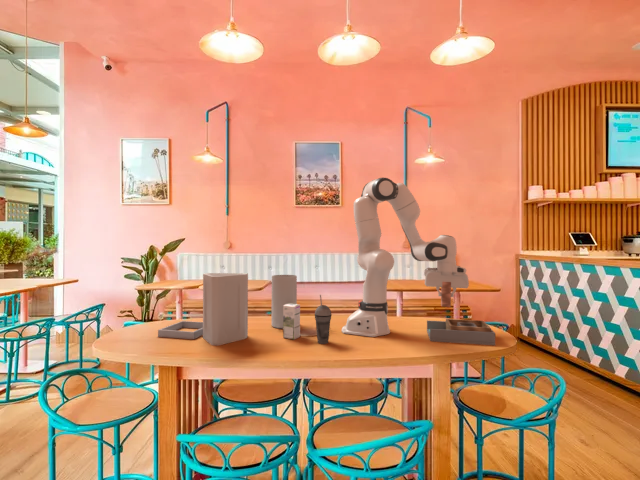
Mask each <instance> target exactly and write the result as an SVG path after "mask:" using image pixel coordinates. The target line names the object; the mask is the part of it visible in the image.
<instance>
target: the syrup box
mask: <svg viewBox="0 0 640 480" xmlns="http://www.w3.org/2000/svg"><path fill="white" fill-rule="evenodd" d="M282 331H283V333H282V334H283V335H282V337H283V339H287V340H288V339H290V340H297V339H298V338H300V337H301V304H300V303H299V304H298V303H297V304H286V305H284V306H283V328H282Z"/></svg>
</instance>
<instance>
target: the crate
mask: <svg viewBox="0 0 640 480" xmlns="http://www.w3.org/2000/svg"><path fill="white" fill-rule="evenodd" d="M445 321H446V330H461V331H479V332H491V329H492V328H491V327H490V326H489V325H488V324H487V323H486V322H485V321H484V320H475V319H457V318H446V319H445Z"/></svg>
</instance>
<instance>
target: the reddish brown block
mask: <svg viewBox="0 0 640 480" xmlns="http://www.w3.org/2000/svg"><path fill="white" fill-rule="evenodd" d="M440 292H442V296H440V306H441V307H444V308H445V307H447V308H451V307H452V299H451V298H452V297H451V293H452V288H451V282H442V287H440Z"/></svg>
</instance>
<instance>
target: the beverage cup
mask: <svg viewBox="0 0 640 480" xmlns="http://www.w3.org/2000/svg"><path fill="white" fill-rule="evenodd" d="M319 299H320V305H319V306H318V307H316V308H315V310H314V319H315V329H316V338H317V339H316V340H317V343H318V344H321V345H326V344H329V339H330V328H331V319H332V315H333V314H332V311H331V309H330V307H329V306H327V305H324V304H323V301H322V294H319Z"/></svg>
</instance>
